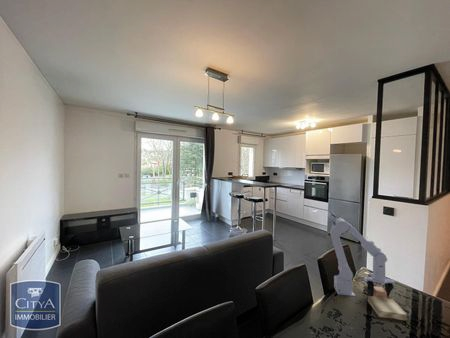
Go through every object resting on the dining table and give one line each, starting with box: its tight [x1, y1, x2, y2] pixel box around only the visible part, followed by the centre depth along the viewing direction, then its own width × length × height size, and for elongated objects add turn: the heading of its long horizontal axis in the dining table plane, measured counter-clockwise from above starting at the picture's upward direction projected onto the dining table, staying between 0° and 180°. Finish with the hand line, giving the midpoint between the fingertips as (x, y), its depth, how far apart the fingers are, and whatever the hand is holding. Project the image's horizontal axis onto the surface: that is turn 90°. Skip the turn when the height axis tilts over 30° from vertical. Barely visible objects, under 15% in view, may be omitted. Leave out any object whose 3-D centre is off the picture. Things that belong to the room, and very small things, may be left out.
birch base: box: [367, 295, 408, 321], centre depth 103 cm, size 12×12×3 cm
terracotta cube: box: [372, 285, 388, 298], centre depth 114 cm, size 5×5×5 cm
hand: (379, 294), depth 114 cm, fingers open, 7 cm apart
